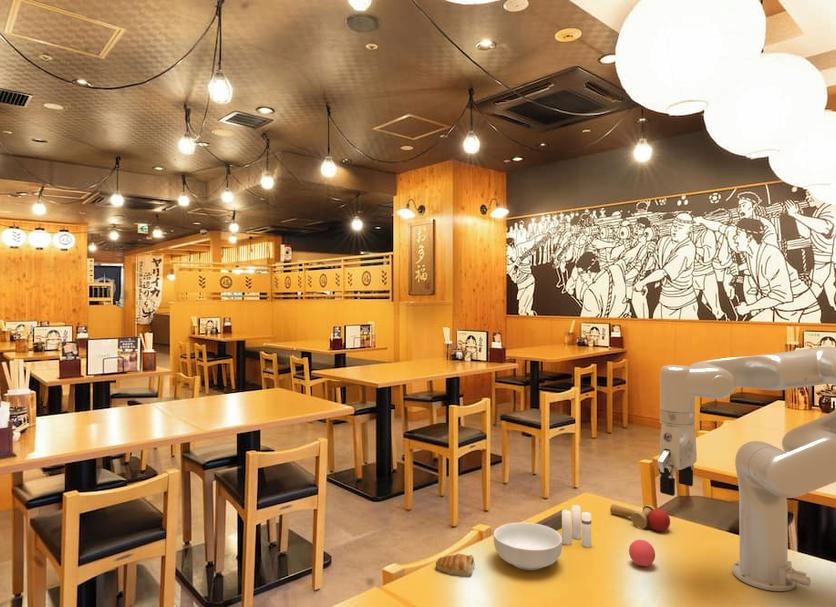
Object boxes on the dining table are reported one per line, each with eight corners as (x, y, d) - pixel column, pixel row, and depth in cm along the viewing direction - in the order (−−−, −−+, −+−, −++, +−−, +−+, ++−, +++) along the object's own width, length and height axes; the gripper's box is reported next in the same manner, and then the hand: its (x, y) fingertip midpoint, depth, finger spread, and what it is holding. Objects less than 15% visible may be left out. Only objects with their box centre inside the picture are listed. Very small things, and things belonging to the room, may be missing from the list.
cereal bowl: (574, 561, 136) (574, 533, 136) (540, 587, 124) (540, 557, 124) (516, 541, 148) (516, 515, 148) (480, 563, 136) (480, 535, 136)
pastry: (433, 575, 131) (433, 559, 131) (438, 562, 137) (438, 547, 137) (472, 578, 129) (472, 562, 129) (475, 565, 135) (475, 550, 135)
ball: (659, 565, 134) (659, 540, 134) (648, 573, 130) (648, 548, 130) (635, 556, 138) (635, 533, 138) (624, 564, 134) (624, 540, 134)
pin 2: (582, 537, 150) (582, 506, 150) (578, 539, 148) (577, 508, 148) (574, 534, 152) (574, 504, 152) (570, 537, 150) (570, 506, 150)
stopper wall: (567, 524, 158) (567, 511, 158) (535, 541, 147) (535, 527, 147) (562, 523, 159) (562, 509, 159) (530, 540, 148) (530, 525, 148)
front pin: (593, 545, 145) (593, 513, 145) (588, 548, 143) (588, 516, 143) (584, 542, 147) (584, 511, 147) (580, 545, 145) (579, 513, 145)
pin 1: (573, 542, 146) (572, 511, 146) (568, 545, 145) (568, 514, 145) (565, 540, 148) (564, 509, 148) (560, 542, 147) (560, 511, 147)
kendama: (604, 522, 163) (660, 534, 149) (604, 500, 165) (660, 510, 150) (620, 520, 168) (676, 532, 153) (619, 499, 169) (675, 508, 155)
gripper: (676, 425, 121) (676, 502, 121) (708, 415, 132) (708, 485, 132) (644, 420, 126) (643, 493, 126) (677, 410, 138) (676, 477, 138)
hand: (676, 489), depth 129 cm, fingers open, 9 cm apart
